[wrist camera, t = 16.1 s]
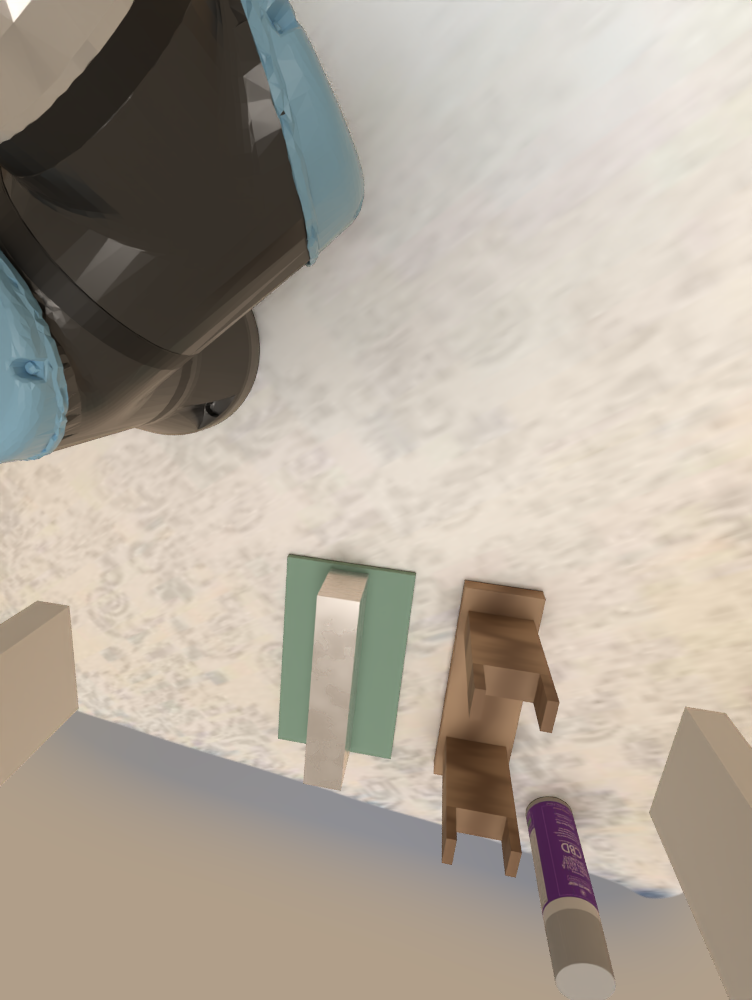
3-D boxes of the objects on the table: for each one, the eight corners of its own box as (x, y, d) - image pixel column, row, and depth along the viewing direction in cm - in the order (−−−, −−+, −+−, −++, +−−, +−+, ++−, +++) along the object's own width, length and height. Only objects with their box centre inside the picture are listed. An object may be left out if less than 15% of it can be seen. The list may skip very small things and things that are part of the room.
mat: (279, 734, 55) (278, 738, 55) (289, 554, 49) (287, 556, 48) (391, 754, 54) (390, 758, 54) (415, 572, 48) (415, 575, 47)
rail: (316, 741, 54) (303, 783, 49) (330, 568, 48) (317, 595, 43) (350, 747, 54) (340, 790, 49) (368, 574, 48) (359, 602, 43)
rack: (433, 762, 54) (430, 881, 42) (464, 580, 48) (471, 660, 36) (502, 774, 53) (518, 898, 41) (542, 591, 47) (575, 676, 35)
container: (573, 797, 53) (619, 965, 39) (571, 833, 54) (616, 1007, 40) (525, 795, 54) (554, 959, 39) (525, 830, 55) (552, 1001, 41)
